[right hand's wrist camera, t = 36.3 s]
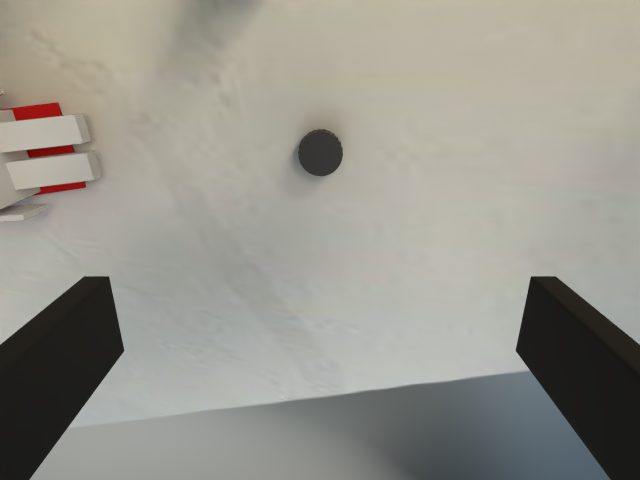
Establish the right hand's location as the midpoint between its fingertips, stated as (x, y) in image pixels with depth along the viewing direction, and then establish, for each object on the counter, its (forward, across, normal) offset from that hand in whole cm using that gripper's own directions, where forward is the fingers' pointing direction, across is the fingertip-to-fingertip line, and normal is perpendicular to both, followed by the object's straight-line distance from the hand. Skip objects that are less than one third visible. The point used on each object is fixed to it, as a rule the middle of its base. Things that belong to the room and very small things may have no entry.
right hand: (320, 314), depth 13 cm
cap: (+32, 0, 0) cm, 32 cm away
